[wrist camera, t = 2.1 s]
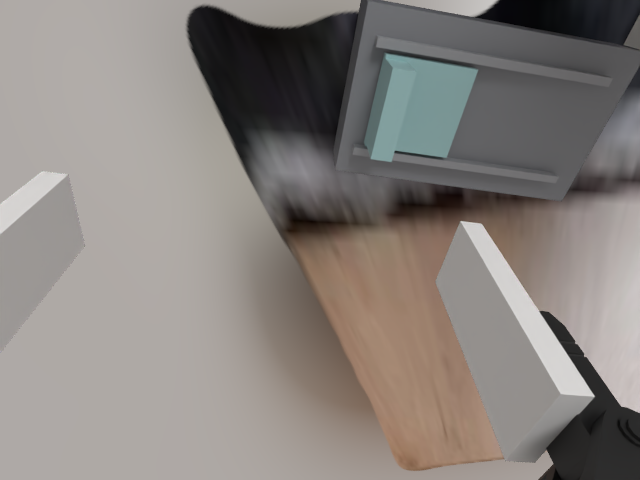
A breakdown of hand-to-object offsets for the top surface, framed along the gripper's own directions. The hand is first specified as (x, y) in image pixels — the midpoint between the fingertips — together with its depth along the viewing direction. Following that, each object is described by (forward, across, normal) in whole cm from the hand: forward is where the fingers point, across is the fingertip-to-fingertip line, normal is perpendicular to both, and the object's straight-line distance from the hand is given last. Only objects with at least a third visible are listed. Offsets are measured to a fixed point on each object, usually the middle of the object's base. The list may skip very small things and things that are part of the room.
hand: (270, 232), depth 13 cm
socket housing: (+23, +14, 0) cm, 27 cm away
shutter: (+18, +9, 0) cm, 21 cm away
